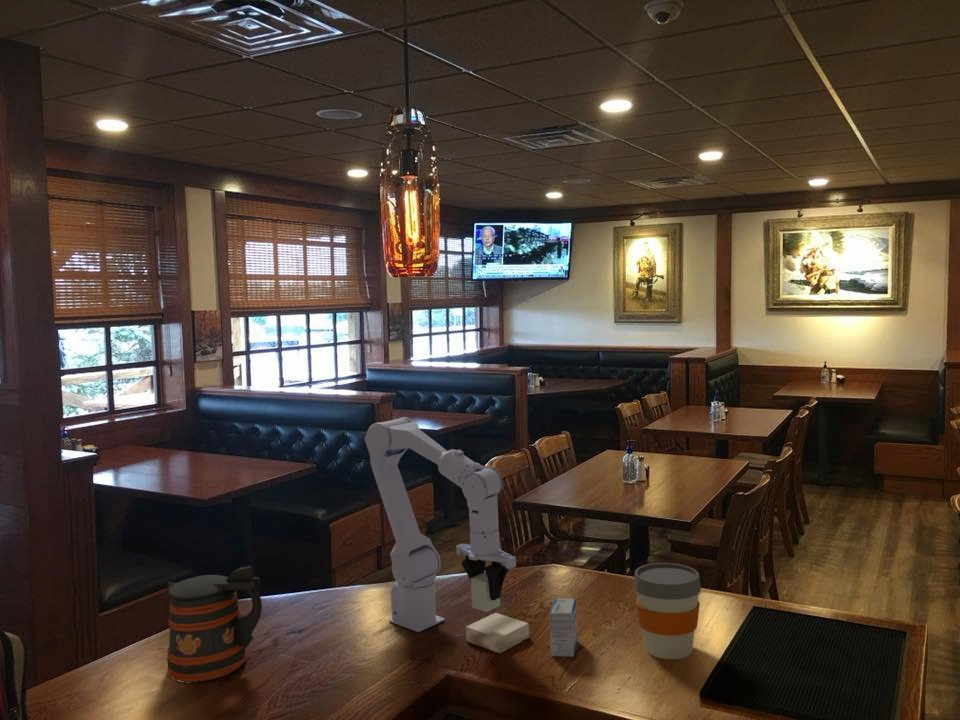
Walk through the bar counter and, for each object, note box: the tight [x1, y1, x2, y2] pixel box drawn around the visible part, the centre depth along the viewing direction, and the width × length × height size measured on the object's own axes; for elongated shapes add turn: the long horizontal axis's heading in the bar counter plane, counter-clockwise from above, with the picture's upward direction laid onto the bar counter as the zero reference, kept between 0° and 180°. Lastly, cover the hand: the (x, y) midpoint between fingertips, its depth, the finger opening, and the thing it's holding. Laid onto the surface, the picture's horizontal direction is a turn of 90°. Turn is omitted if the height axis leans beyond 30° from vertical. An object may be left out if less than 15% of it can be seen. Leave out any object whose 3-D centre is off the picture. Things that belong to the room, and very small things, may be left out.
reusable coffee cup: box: [633, 562, 702, 660], centre depth 153 cm, size 12×13×15 cm
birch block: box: [465, 612, 530, 654], centre depth 161 cm, size 9×9×3 cm
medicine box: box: [549, 597, 578, 658], centre depth 155 cm, size 8×4×9 cm, turn 168°
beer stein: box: [166, 565, 263, 683], centre depth 153 cm, size 19×15×20 cm
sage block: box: [470, 572, 501, 613], centre depth 159 cm, size 4×4×6 cm
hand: (487, 596), depth 159 cm, fingers closed on sage block, 4 cm apart
